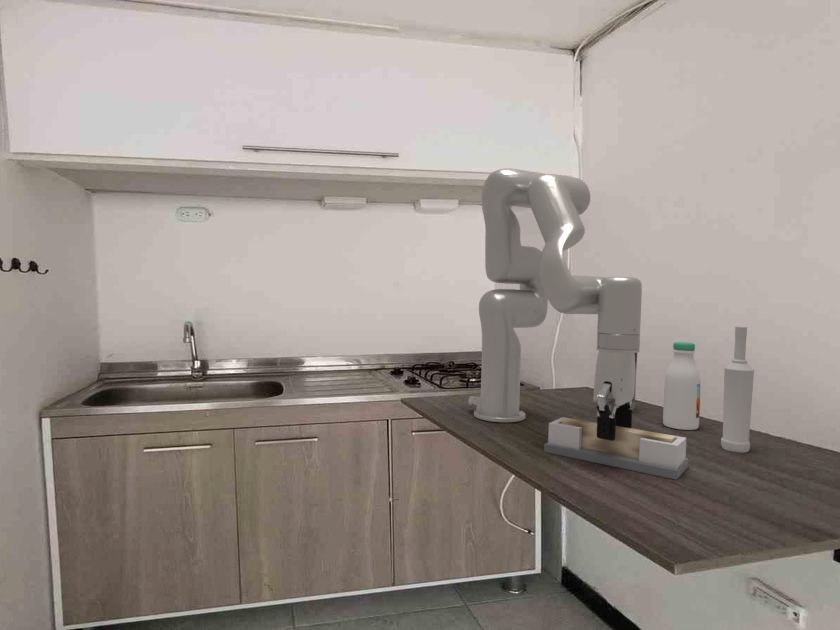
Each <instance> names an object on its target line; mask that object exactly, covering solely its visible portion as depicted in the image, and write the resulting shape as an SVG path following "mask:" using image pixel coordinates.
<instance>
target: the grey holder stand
mask: <svg viewBox="0 0 840 630" xmlns="http://www.w3.org/2000/svg"><path fill="white" fill-rule="evenodd" d="M567 418H568V417H564V416H563V417H560V418H558V419H557V418H556V419H555V420H553V421H551V422H548V435H547V436H548V437H547V442H545V443H544V444H543V445H544V446H543V452H544V453H547V454H553V455H558V456H561V457H562V456H563V457H567V458H572V459H577V460H581V461H585V462H591V463H595V464H601V465H605V466H609V467H615V468H620V469H624V470H629V471H633V472H639V473H644V474H648V475H653V476H657V477H661V478H666V479H672V480H676V481H677V480H678V479H679V478H680V477H681V475H683V473H684V472H686V470H687V469H688V468H689V461H690V460H689V458H687V457H686V456H687V437H684V436H683V437H682V436H679V435H674V436H675V441H674V442H672V443H669V442H663V441H657V440H651V439H646V438H641V439H640V448H639V458H634V457H629V456H623V455H618V454H613V453H608V452H603V451H598V450H593V449H588V448H583V447H581V437H582V427H577V426H571V425H565V424H562V420H565V419H567Z"/></svg>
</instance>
